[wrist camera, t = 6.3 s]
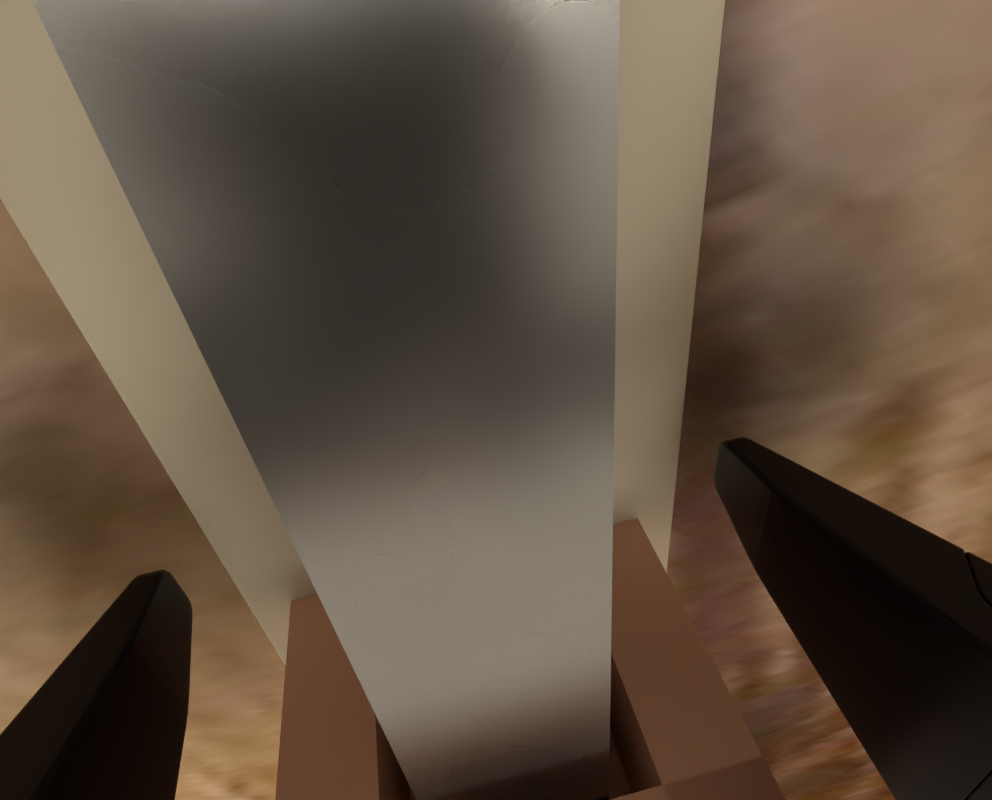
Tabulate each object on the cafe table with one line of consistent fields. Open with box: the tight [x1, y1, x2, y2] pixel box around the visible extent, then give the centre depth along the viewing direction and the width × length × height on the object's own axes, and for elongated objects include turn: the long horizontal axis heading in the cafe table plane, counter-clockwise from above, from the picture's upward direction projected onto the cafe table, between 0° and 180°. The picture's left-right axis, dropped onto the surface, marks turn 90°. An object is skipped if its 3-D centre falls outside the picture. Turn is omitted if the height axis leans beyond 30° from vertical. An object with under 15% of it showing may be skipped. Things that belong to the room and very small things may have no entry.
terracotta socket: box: [276, 518, 785, 800], centre depth 12 cm, size 7×4×6 cm, turn 96°
